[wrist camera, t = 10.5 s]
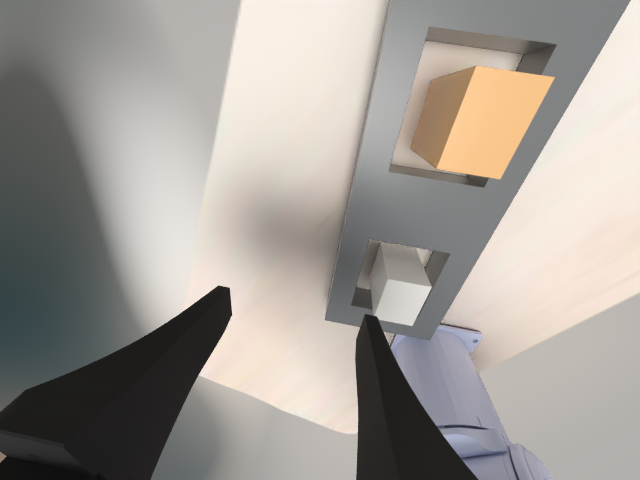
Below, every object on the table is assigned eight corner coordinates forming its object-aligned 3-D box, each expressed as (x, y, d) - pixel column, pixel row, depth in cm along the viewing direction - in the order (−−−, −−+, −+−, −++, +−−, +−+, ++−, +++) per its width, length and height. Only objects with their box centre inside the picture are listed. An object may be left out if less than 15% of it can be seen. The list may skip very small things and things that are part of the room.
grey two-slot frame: (423, 319, 24) (429, 340, 22) (327, 301, 24) (324, 320, 22) (593, -3, 12) (646, -27, 10) (395, -29, 12) (403, -57, 10)
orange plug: (453, 155, 16) (500, 179, 11) (410, 148, 16) (436, 168, 11) (481, 87, 14) (555, 77, 9) (432, 79, 14) (476, 65, 9)
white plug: (401, 283, 22) (412, 326, 18) (369, 277, 22) (373, 318, 18) (415, 248, 20) (431, 287, 16) (380, 242, 20) (387, 279, 16)
